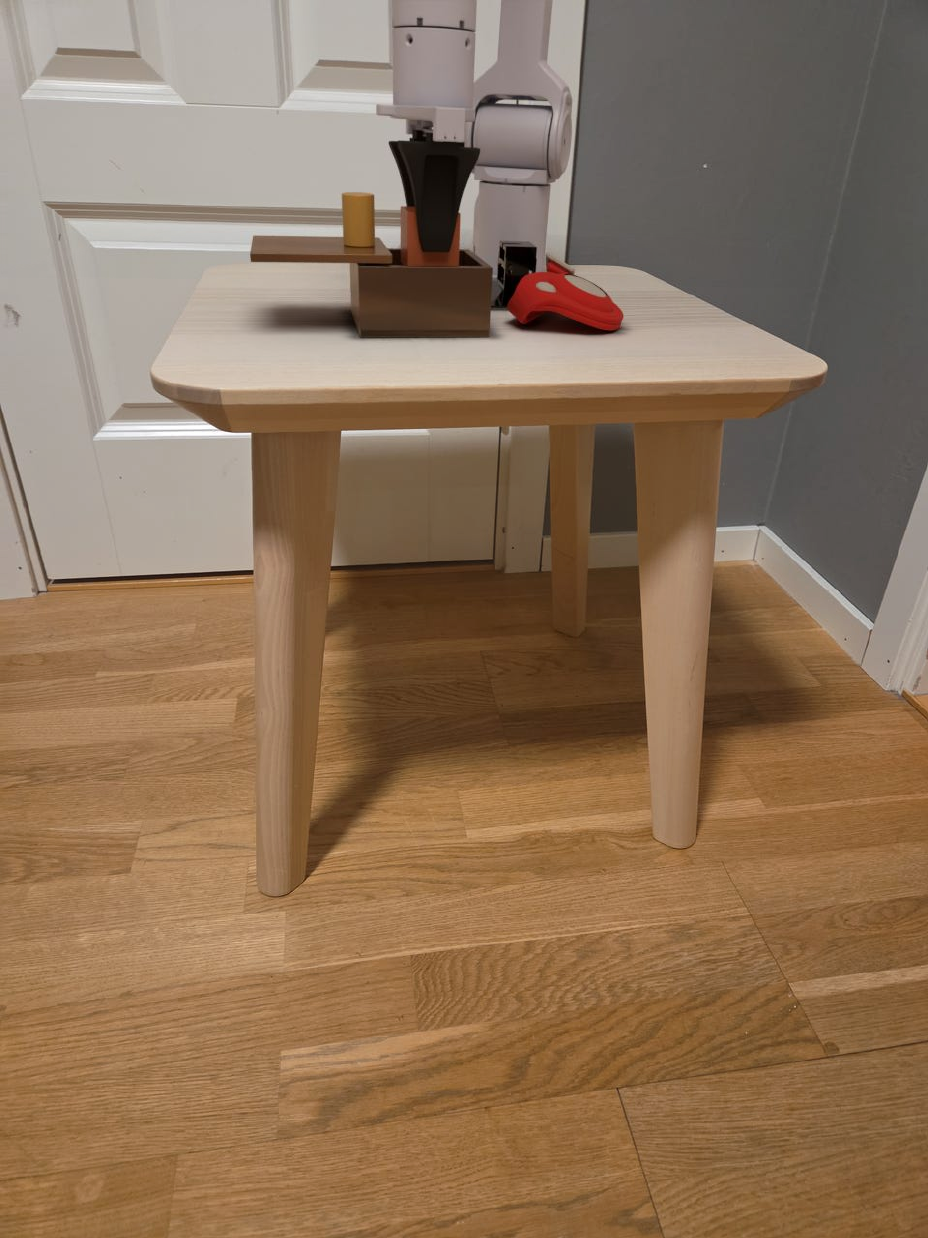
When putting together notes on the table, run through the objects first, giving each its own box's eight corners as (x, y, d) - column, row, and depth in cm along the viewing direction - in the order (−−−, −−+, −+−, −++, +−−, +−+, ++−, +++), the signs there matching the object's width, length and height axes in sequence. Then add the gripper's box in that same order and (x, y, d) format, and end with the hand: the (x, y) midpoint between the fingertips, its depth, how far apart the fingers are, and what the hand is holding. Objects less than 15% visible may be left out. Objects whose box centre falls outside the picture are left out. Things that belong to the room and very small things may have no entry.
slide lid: (253, 243, 65) (248, 185, 63) (379, 245, 67) (378, 188, 64) (250, 261, 57) (244, 196, 55) (392, 263, 59) (392, 200, 57)
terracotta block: (400, 261, 65) (400, 205, 63) (449, 262, 66) (451, 207, 64) (407, 270, 62) (407, 211, 60) (458, 270, 63) (460, 212, 61)
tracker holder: (652, 314, 67) (564, 295, 61) (626, 363, 69) (539, 349, 63) (570, 249, 73) (483, 226, 67) (549, 296, 76) (463, 278, 70)
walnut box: (351, 311, 69) (348, 247, 66) (467, 311, 71) (469, 249, 68) (360, 337, 62) (358, 266, 59) (489, 336, 63) (493, 267, 61)
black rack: (469, 284, 83) (471, 233, 80) (539, 285, 83) (543, 235, 81) (487, 309, 72) (490, 251, 70) (568, 310, 73) (574, 253, 71)
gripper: (366, 34, 61) (370, 233, 69) (387, 18, 49) (389, 261, 57) (458, 40, 63) (452, 234, 70) (501, 25, 51) (489, 262, 58)
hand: (430, 246), depth 63 cm, fingers closed on terracotta block, 4 cm apart
